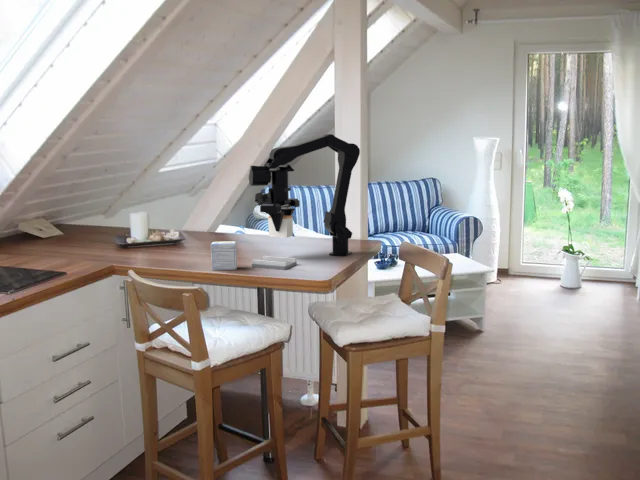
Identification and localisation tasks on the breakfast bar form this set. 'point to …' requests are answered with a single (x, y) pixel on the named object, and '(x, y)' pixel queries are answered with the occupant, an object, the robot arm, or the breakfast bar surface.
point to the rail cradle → (275, 262)
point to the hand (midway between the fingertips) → (280, 230)
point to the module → (285, 228)
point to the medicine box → (224, 255)
